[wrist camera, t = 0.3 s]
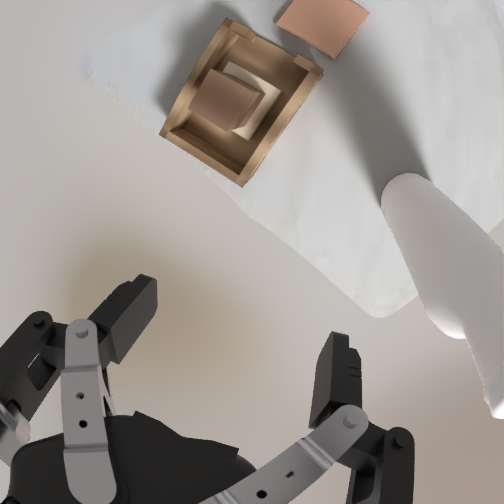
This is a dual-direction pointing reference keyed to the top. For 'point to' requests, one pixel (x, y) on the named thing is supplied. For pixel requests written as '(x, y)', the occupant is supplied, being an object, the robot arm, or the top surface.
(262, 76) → the oak box
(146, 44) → the top surface
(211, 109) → the walnut block
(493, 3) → the top surface
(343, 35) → the terracotta tile
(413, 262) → the bottle
